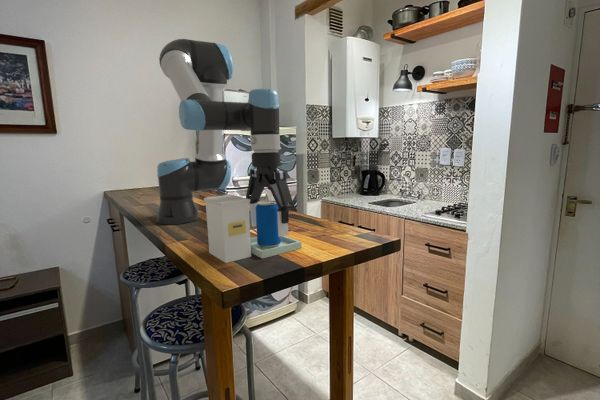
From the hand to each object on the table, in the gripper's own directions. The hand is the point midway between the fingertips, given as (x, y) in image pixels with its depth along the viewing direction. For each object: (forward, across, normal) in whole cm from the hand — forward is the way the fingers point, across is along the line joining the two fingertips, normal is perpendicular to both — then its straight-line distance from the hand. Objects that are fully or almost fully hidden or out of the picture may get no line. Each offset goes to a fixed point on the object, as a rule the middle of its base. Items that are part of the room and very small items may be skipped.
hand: (269, 230), depth 89 cm
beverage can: (+4, 0, 0) cm, 5 cm away
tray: (+5, 0, 0) cm, 5 cm away
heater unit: (+5, -2, -11) cm, 12 cm away
